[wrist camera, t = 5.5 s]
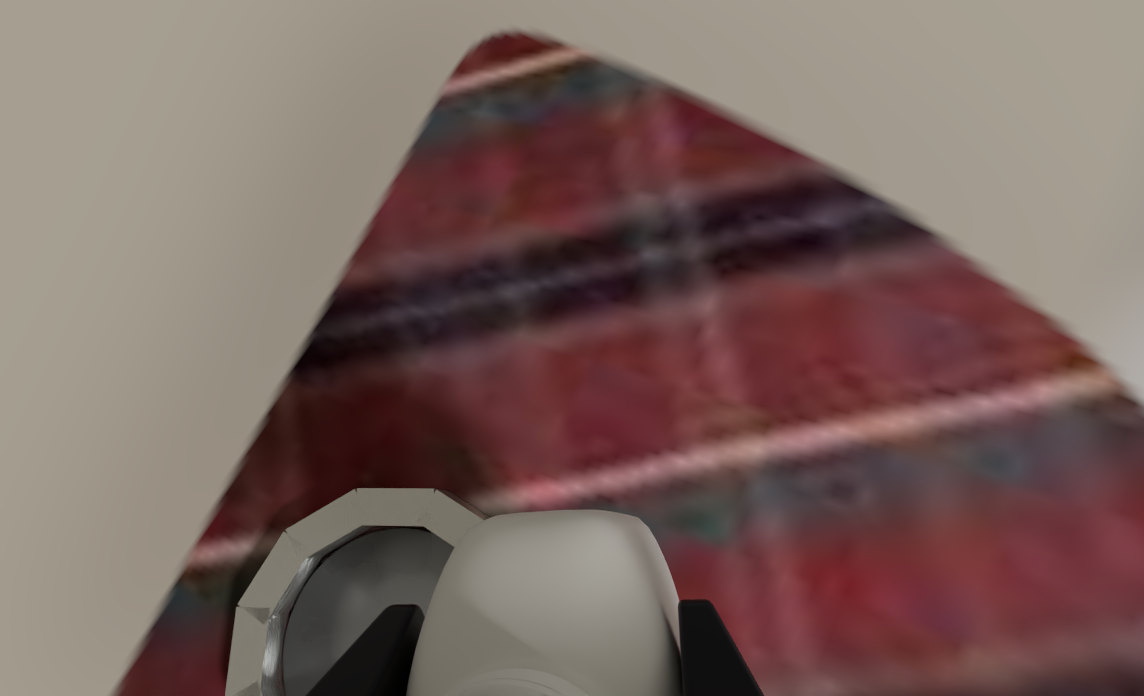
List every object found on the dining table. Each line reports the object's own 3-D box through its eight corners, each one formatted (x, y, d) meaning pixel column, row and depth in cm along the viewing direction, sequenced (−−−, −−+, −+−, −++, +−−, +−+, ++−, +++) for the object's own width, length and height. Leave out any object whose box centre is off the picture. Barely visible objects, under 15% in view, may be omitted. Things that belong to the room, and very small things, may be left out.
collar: (549, 846, 20) (541, 867, 18) (232, 818, 21) (207, 835, 20) (555, 490, 22) (549, 489, 21) (272, 489, 24) (251, 487, 23)
